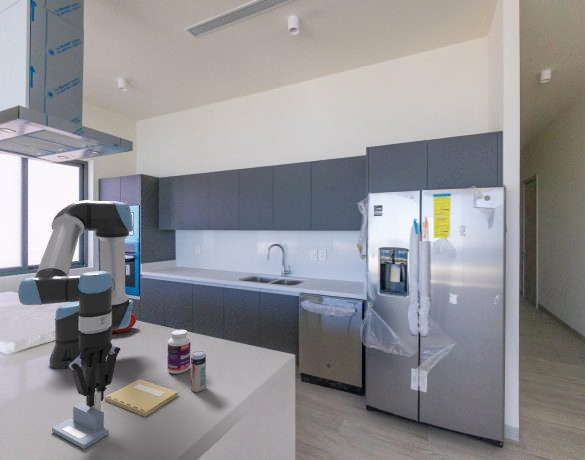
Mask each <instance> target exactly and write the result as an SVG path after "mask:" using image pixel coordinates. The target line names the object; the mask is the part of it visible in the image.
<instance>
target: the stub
mask: <svg viewBox="0 0 585 460" xmlns="http://www.w3.org/2000/svg"><path fill="white" fill-rule="evenodd" d="M72 411H73V415H72V417H70V418H68V419H66V420H65V421H62V422H60V423H58V424H57V425H55V426H53V427H52V428H51V432H52V433H54V434H55V435H57V436H59V437H62V438H63V439H64V440H67V441H69V442H70V443H72V444H74V445H76V446H78V447H80V448H81V449H83V450H85V449H87V448H88V447H90V446H91V445H93V444H95V443H96V442H99V441H100V440H101V439H103V438H104V437H106V436H107V435H109V433H110V431H109V429H108V428H106V427H105V413H104V412H103V411H102V410H101V411H99V410H97V409H95V408H92V407H89V406H87V405H86V404H85V403H84V402H79V403H78V404H76V405H73V406H72Z"/></svg>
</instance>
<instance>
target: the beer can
mask: <svg viewBox="0 0 585 460" xmlns="http://www.w3.org/2000/svg"><path fill="white" fill-rule="evenodd" d="M206 369H207V355H206V353H205V351H204V350H197V351H193V353H192V354H191V355H190V391H192V392H195V393H196V392H197V393H198V392H202V391H203V390H205V388H206V386H207V385H206V382H207V381H206V380H207V379H206V377H207V375H206V374H207V373H206V371H207V370H206Z"/></svg>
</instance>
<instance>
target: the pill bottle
mask: <svg viewBox="0 0 585 460" xmlns="http://www.w3.org/2000/svg"><path fill="white" fill-rule="evenodd" d="M189 369H191V338H190V337H189V336H188V330H186V329H175V330H173V331H172V332H171V337H170V339H168V341H167V372H168V373H170V374H173V375H174V374H176V375H177V374H183V373H185V372H187V371H188V370H189Z"/></svg>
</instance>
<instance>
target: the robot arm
mask: <svg viewBox="0 0 585 460" xmlns="http://www.w3.org/2000/svg"><path fill="white" fill-rule="evenodd" d="M50 227H51V230H52V232H51V235H50V237H49V240H48V242H47V245H46V248H45V250H44V253H43V256H42V258H41V260H40V264H39V266H38V269H37V271H36V272H35V273H36V274H35V276H32V277H26V278H23V279H22V280H21V281H20V283H19V286H18V294H17V295H18V299H19V302H20V304H22V305H24V306H42V305H49V304H60V303H61V304H62V303H64V304H62V305H59V306H58V307H57V308H56V310H55V318H54V323H55V325H54V326H55V331H54V332H55V333H54V334H55V336H54V338H55V339H54V340H55V341H54V347H53V349H52V352H51V355H50V357H49V360H48V361H49V367H51V368H53V369H70V370H71V373H72V376H73V379H74V383H75V387H76V391H77V393H78V395H80V396H83V397H85V399H86V400H85V401H86V405H87V406H89V407H92V408H95V409H97V410H99V411H102V402H103V401H104V400H105V396H104V395H105V394H104V393H105V391H106V390H107V389H108V387H107V386H109V385H111V383H112V381H113V377H114V376H113V375H114V371H115V366H116V362H117V357H118V355H119V353H120V352H121V347H118V346H114V345H113V344H112V339H113V338H112V336H113V333H112V330H115V329H116V330H118V329H121V328H126V327H128V326H129V324H130V319H131V312H132V311H133V304H134V301H133V299H130V296H129V295H128V294H127V293H126V244H125V243H126V239H127V238H128V237H129V236H130V232H133V230H134V225H133V217H132V212H131V207H130V205H129V203H127V202H121V201H107V200H106V201H105V200H104V201H101V200H79V201H76V202H74V203H70V204H68V205H67V206H65V207H64V208H62V209H61V210H60V211H59V212H58V213H56V215H55V216H54V218H53V220H52V222H51V225H50ZM87 231H89V232H95V234H94V235H95V237H96V238H97V239H99V246H100V247H99V251H100V253H99V255H100V256H99V257H100V259H99V260H100V270H97V271H95V270H94V271H87V272H83V273H81V274H80V275H69V274H70V270H71V267H72V263H73V260H74V256H75V252H76V249H77V244H78V241H79V238H80V236H81V235H83V233H84V232H87ZM132 313H133V312H132ZM82 365H83V366H84V369H85V372H83V369H82ZM84 374H85V375H84Z"/></svg>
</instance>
